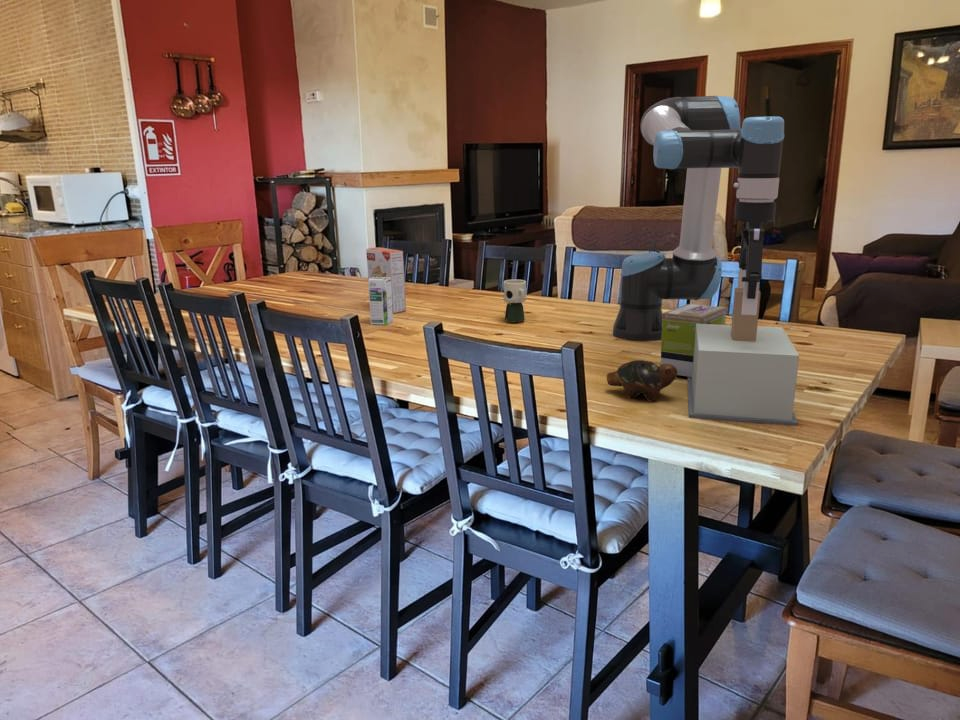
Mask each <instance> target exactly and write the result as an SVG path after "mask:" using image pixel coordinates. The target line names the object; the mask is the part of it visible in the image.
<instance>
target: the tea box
mask: <svg viewBox="0 0 960 720" xmlns="http://www.w3.org/2000/svg"><path fill="white" fill-rule="evenodd" d="M662 313H663V317H662V339H661V341H660V342H661V345H660V363H659V364H660V366H661V365H662V364H671V365H673V366H675V367H676V369H677V376H680V377H681V376H682V377H687V378H688V377H692V372H693V358H694V344H695V331H696V324H715V325H726V319H727V316H726V315H727V307H726V306H713V305H704V304H691V303H687V304H685V305H682V306H679V307H676V308H673V309H670V310H667V311H665V312H662ZM660 366H659V367H660Z"/></svg>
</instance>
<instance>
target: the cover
mask: <svg viewBox="0 0 960 720" xmlns="http://www.w3.org/2000/svg"><path fill="white" fill-rule="evenodd" d="M743 290H744V288H737V287H734V293H733V294H734V295H733V304H732V306H733V307H732V316H731V317H732V318H731V324H725V325H715V324H696V331H695V344H694V358H693V372H692V387H693V403H694V413H697V414H710V415H724V416H737V417H750V418H763V419H777V420H790V421H792V414H793V412H794V405H795V398H796V397H795V396H796V388H797V379H798V372H799V361H800V354H799V352H798V351H797V350H796V347H795V346H794V344H793V342H792V341H791V340H790V337H789V336H788V334H787V333H786V331H785V329H784V327H779V326H776V327H775V326H759V325H758V322H759V314H760V304H761V303H760V302H761V290H759V294H758V304H757V314H756V315H742V314H741V311H742V301H743Z"/></svg>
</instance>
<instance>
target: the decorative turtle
mask: <svg viewBox="0 0 960 720" xmlns="http://www.w3.org/2000/svg"><path fill="white" fill-rule="evenodd" d="M677 376H678V375H677V369H676V367H675V366H673V365H671V364H662V365H661V366H659V365H658V364H656V363H654V362H652V361H647V360H641V359H640V360H631V361H628V362H626V363H623V364H622V365H620V366H619V367H617V369H616V371H613V372H609V373H607V375H606V382H607V384H608V385H609V386H612V387H614V386H615V387H623V388H624V390H625V394H626V396H627V397H628V398H629V399H634V398H636V397H637V396H638V395H640V394H643V396H644V397H645V399H646V400H647V401H649V402H653V401H655V399H656V398H657V396H658V394H659V393H660V392H661V391H662V390H663V389H665V388H667V387H668V386H670V385H672V383H673V382H674V381H675V380H676V378H677Z"/></svg>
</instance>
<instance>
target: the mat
mask: <svg viewBox="0 0 960 720" xmlns="http://www.w3.org/2000/svg"><path fill="white" fill-rule="evenodd" d="M687 400H688V401H687V403H688V405H687V406H688V418H691V419H692V418H693V419H694V418H695V419H703V420H705V419H706V420H707V419H708V420H716V421H718V420H719V421H731V422H733V421H734V422H742V423H743V422H746V423H755V424H756V423H759V424H771V425H772V424H773V425H781V426H782V425H783V426H794V427H795V426H796V427H797V426H799V421H798V419H797V417H796V415H795V412H794V411H793V414H792V421H790V420H777V419H763V418H750V417H737V416H724V415H710V414H697V413H694V403H693V387H692V377H687Z"/></svg>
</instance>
